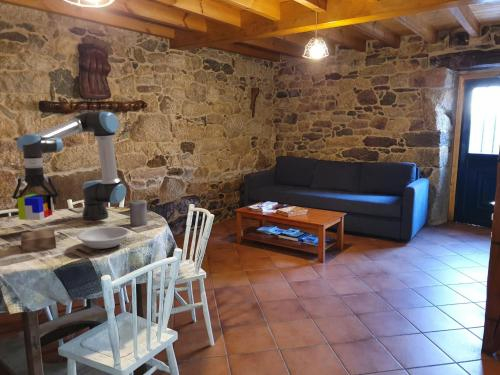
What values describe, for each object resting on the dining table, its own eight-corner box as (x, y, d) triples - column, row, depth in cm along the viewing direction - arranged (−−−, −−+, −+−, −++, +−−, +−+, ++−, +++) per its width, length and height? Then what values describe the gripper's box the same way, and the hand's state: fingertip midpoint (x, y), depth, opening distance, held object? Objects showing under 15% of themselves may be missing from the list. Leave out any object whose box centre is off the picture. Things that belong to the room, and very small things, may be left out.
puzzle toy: (40, 220, 177) (38, 198, 175) (19, 219, 178) (17, 198, 176) (52, 214, 187) (50, 194, 185) (32, 214, 188) (30, 194, 186)
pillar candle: (130, 222, 228) (128, 198, 225) (147, 221, 231) (146, 197, 228) (130, 227, 219) (129, 201, 216) (148, 225, 222) (147, 200, 219)
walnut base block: (54, 240, 195) (53, 229, 194) (56, 248, 183) (55, 236, 182) (22, 244, 188) (21, 233, 187) (22, 253, 176) (20, 241, 175)
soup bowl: (140, 240, 195) (139, 228, 193) (113, 257, 172) (112, 242, 170) (98, 237, 200) (97, 224, 199) (66, 252, 177) (65, 238, 176)
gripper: (1, 168, 172) (6, 215, 176) (61, 167, 181) (65, 211, 184) (5, 167, 179) (10, 212, 183) (63, 165, 188) (66, 208, 191)
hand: (37, 211), depth 184 cm, fingers closed on puzzle toy, 12 cm apart
